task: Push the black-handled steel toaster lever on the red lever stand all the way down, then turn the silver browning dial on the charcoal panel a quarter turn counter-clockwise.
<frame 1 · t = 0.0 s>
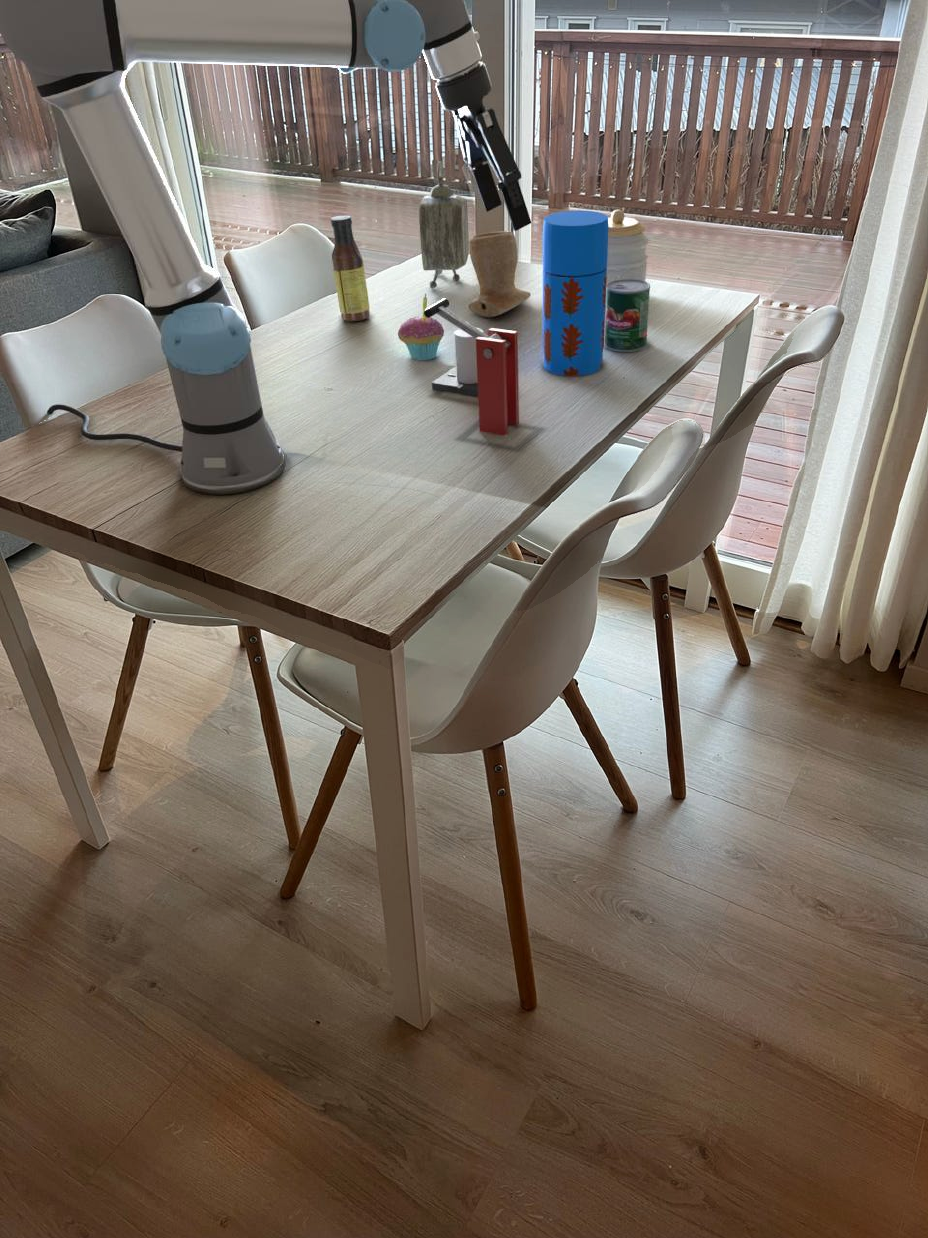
hand: (507, 216, 144), 28 cm above the table, tool tilted 20°, fingers open, 13 cm apart
canned tomato: (625, 345, 174), on the table
red lever stand: (499, 434, 145), on the table
jar: (614, 299, 197), on the table
cupcake: (423, 356, 175), on the table
tan piece: (495, 308, 196), on the table
toaster lever: (468, 328, 138), point 16 cm above the table, hinge at 25.0°
dial panel: (471, 392, 159), on the table
tabletop clock: (448, 282, 213), on the table
thermos: (572, 366, 167), on the table
sauce bottle: (355, 318, 195), on the table
browning dial: (470, 354, 155), point 7 cm above the table, hinge at 0.0°
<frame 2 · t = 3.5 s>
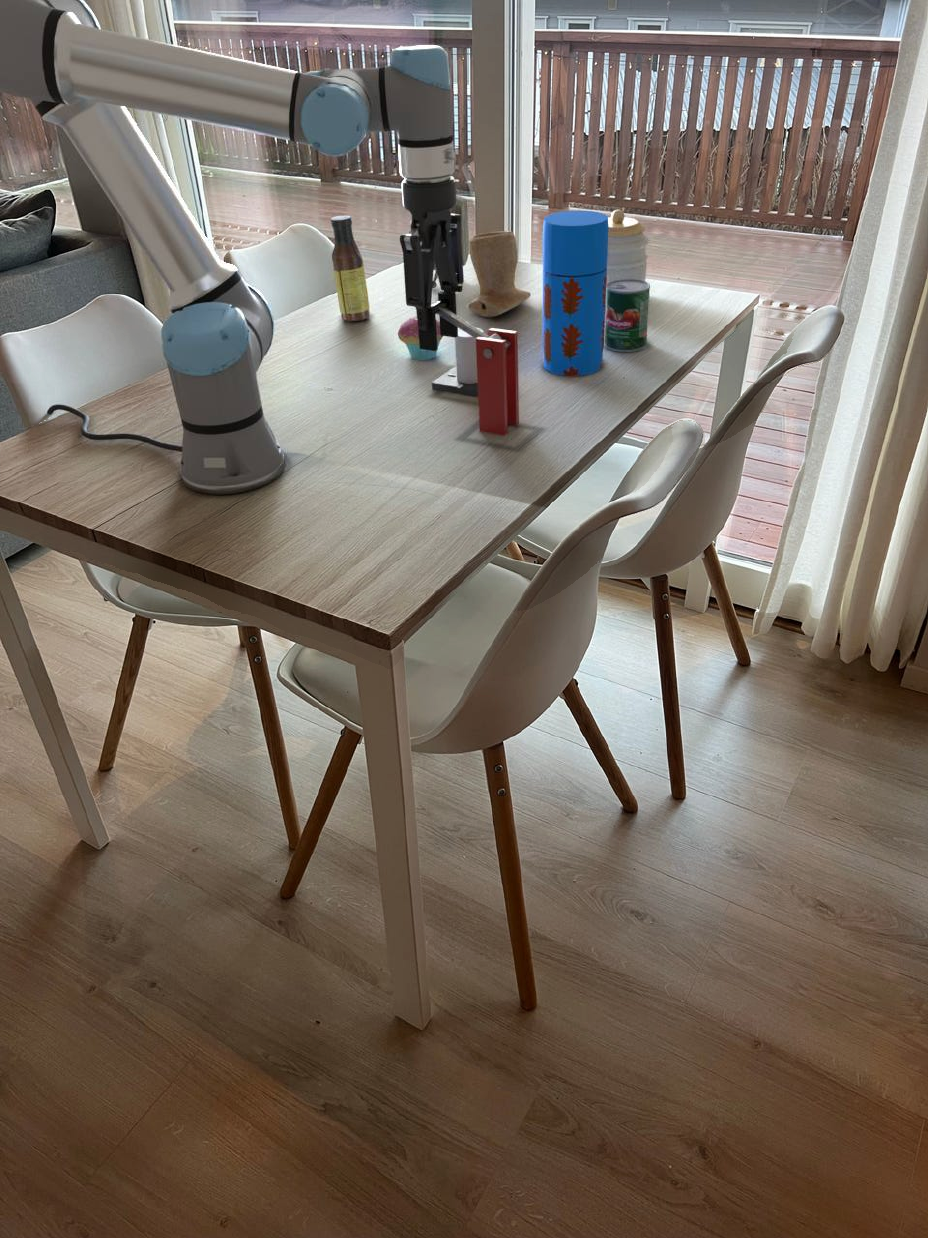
hand: (439, 341, 142), 13 cm above the table, tool pointing down, fingers closed on toaster lever, 5 cm apart
toaster lever: (468, 328, 138), point 16 cm above the table, hinge at 25.0°, touching gripper
everything else where it was.
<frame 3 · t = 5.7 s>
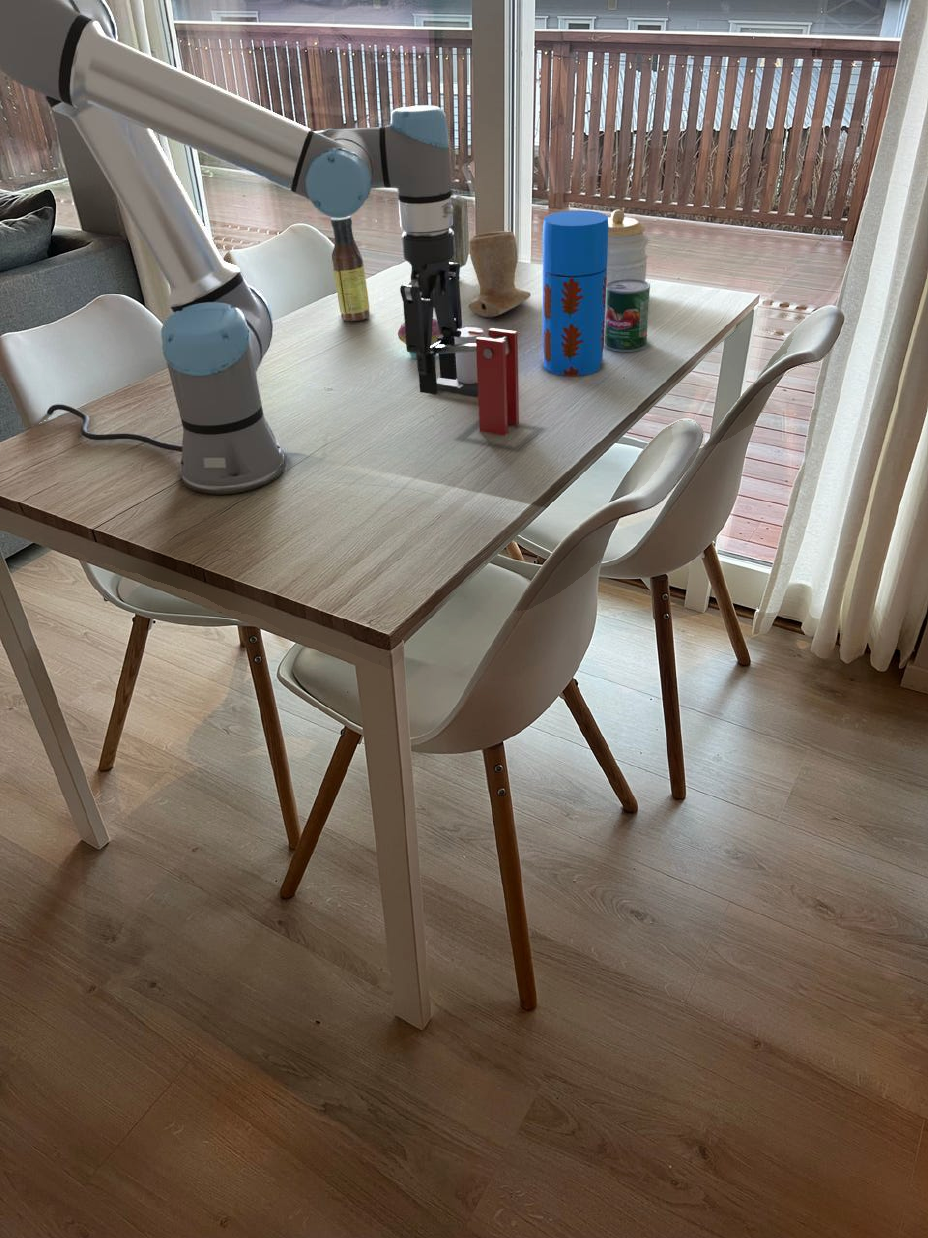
hand: (438, 384, 146), 7 cm above the table, tool pointing down, fingers closed on toaster lever, 5 cm apart
toaster lever: (467, 348, 140), point 13 cm above the table, hinge at -9.5°, touching gripper
everything else where it was.
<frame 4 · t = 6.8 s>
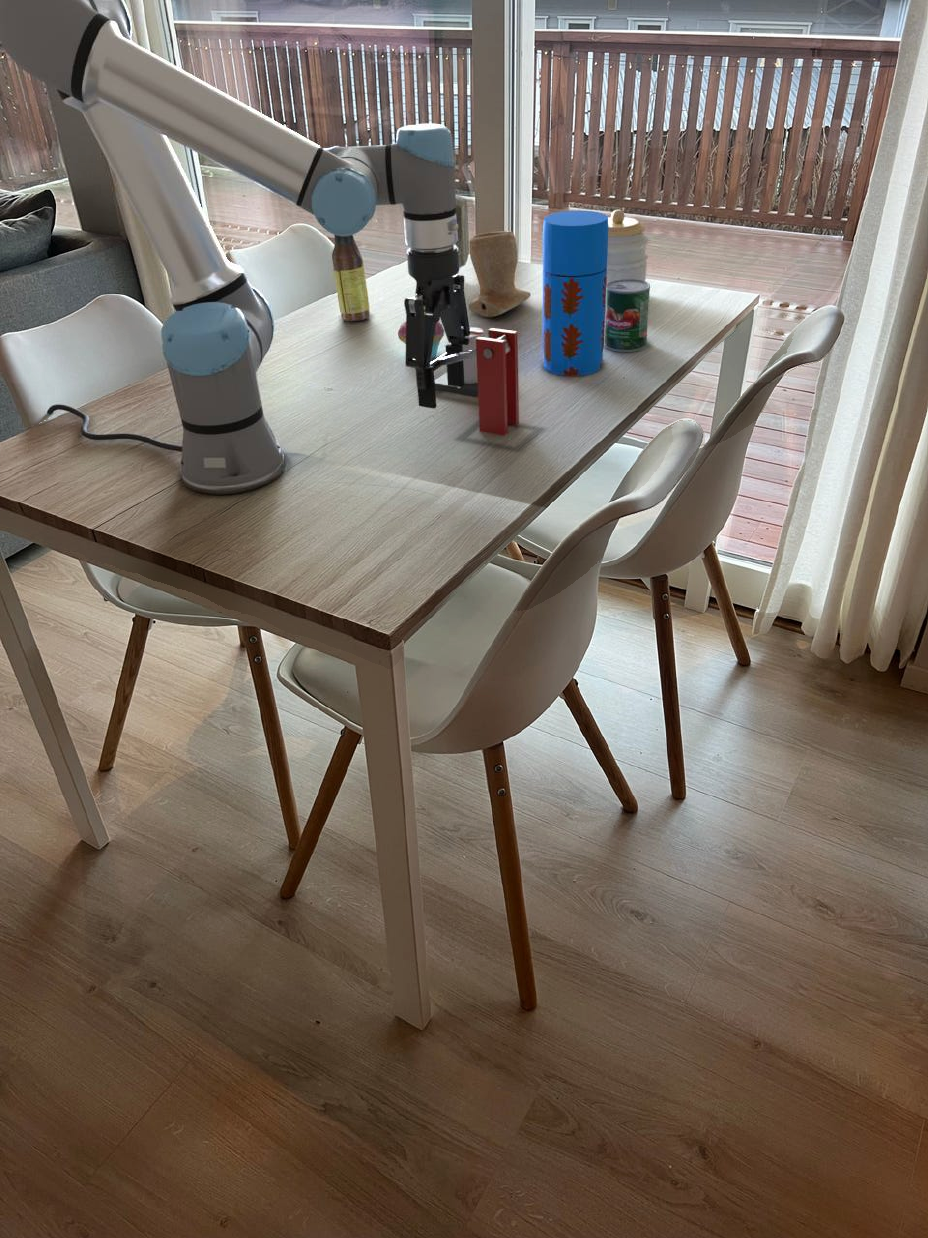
hand: (442, 395, 147), 5 cm above the table, tool pointing down, fingers open, 8 cm apart
toaster lever: (469, 354, 140), point 12 cm above the table, hinge at -20.3°
everything else where it was.
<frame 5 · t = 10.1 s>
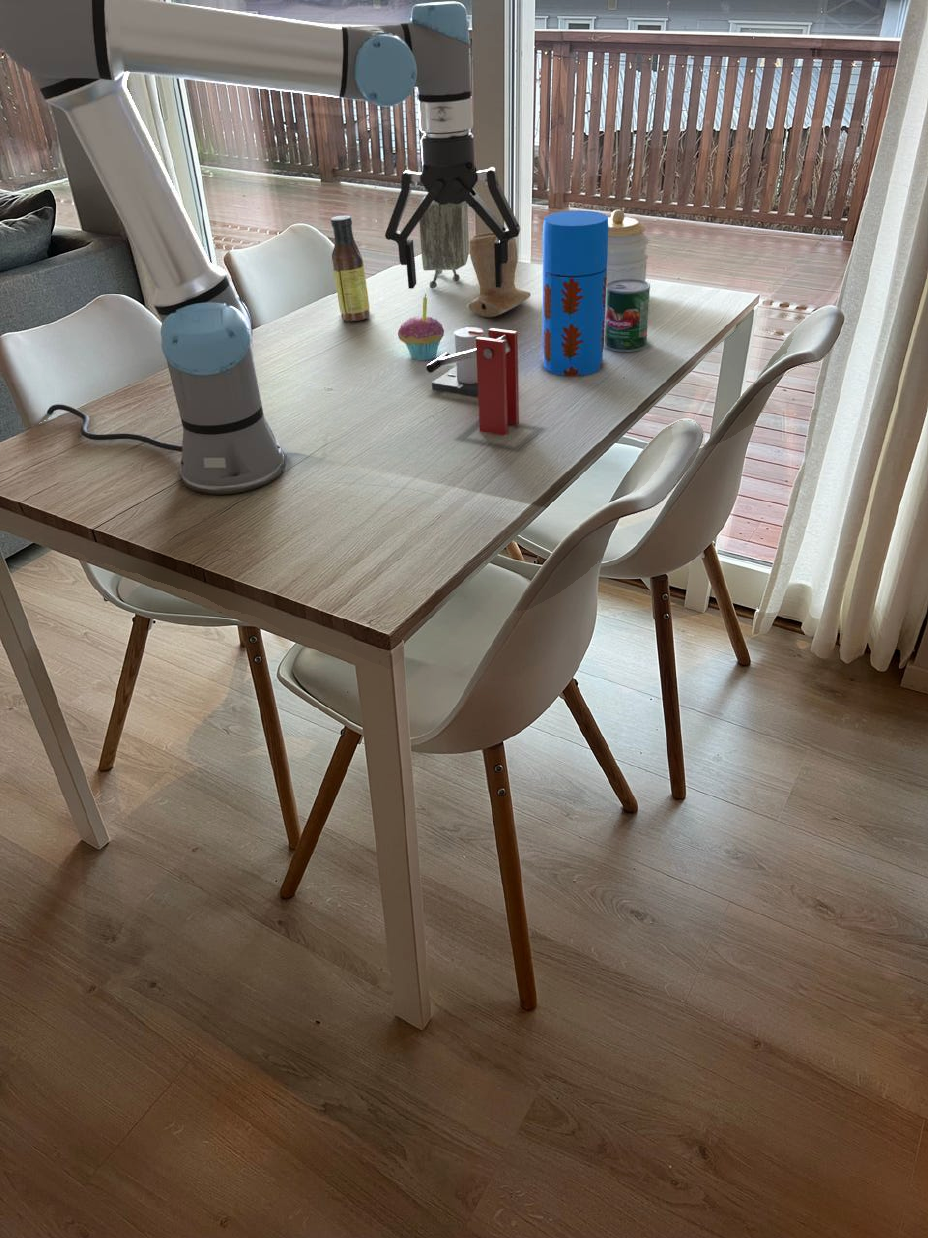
hand: (455, 285, 144), 20 cm above the table, tool pointing down, fingers open, 13 cm apart
nothing on the table moved.
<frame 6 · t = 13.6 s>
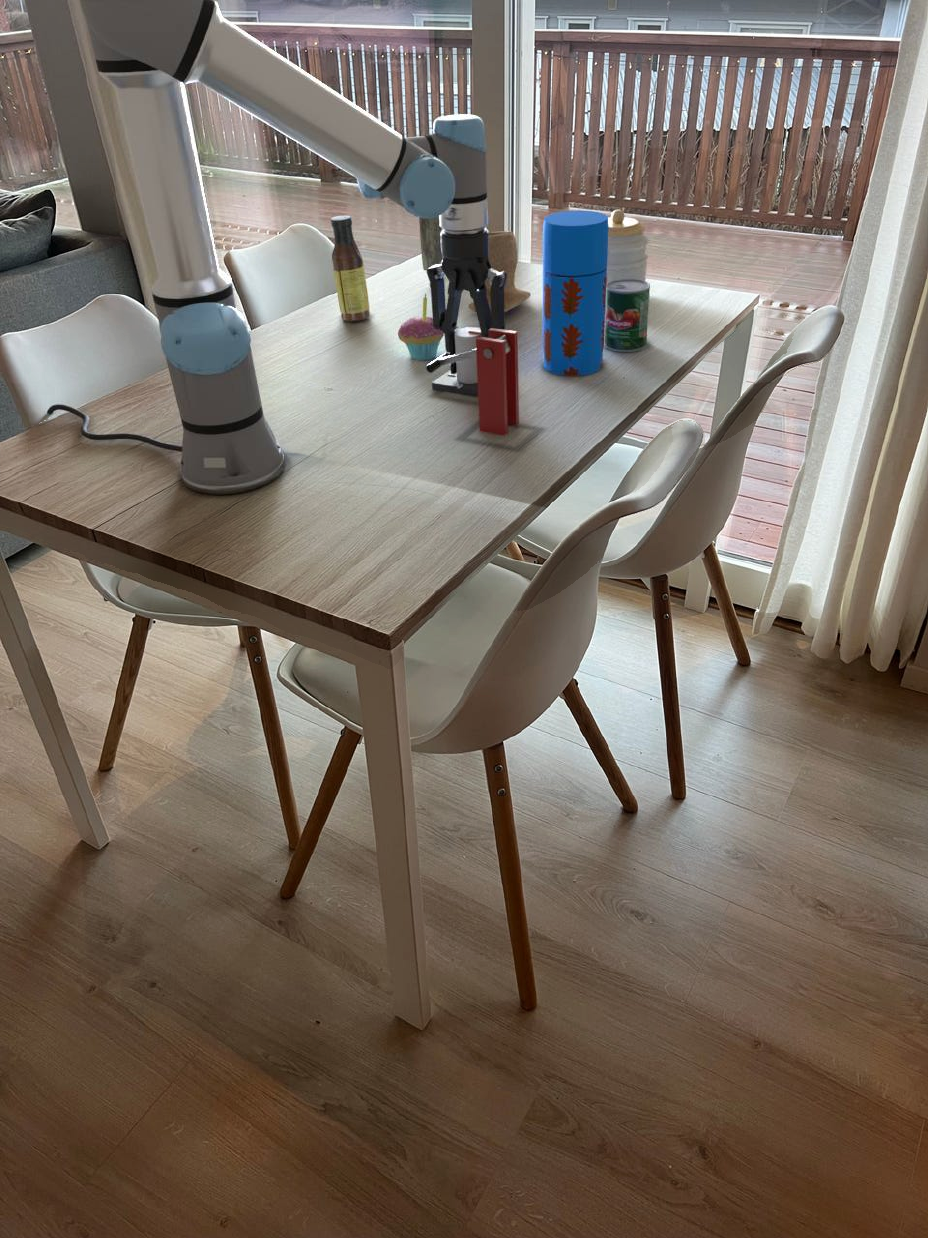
hand: (470, 372, 157), 4 cm above the table, tool pointing down, fingers closed on browning dial, 5 cm apart
browning dial: (470, 354, 155), point 7 cm above the table, hinge at 0.0°, touching gripper
everything else where it was.
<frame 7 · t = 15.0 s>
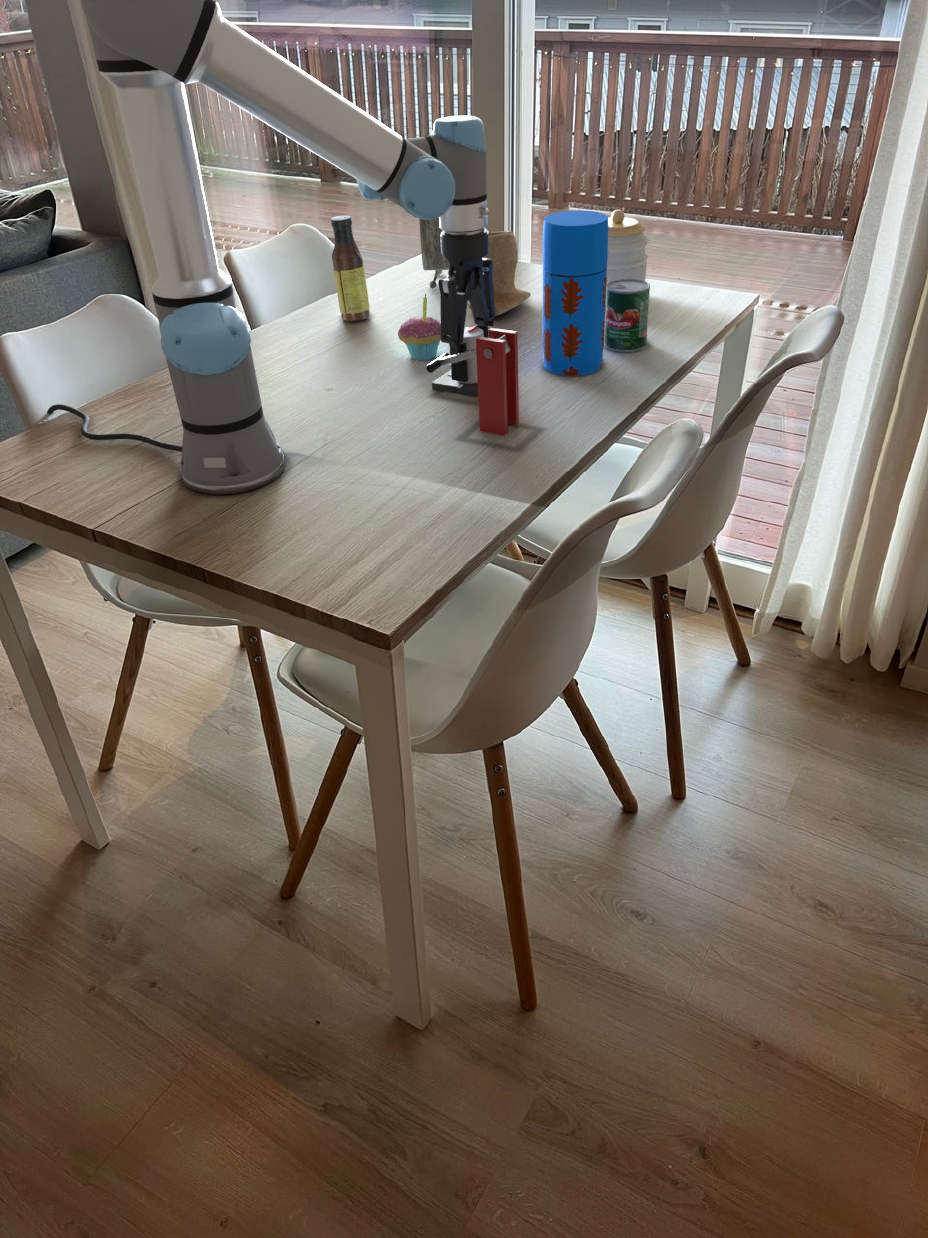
hand: (470, 372, 157), 4 cm above the table, tool pointing down, fingers open, 7 cm apart
browning dial: (470, 354, 155), point 7 cm above the table, hinge at 90.2°
everything else where it was.
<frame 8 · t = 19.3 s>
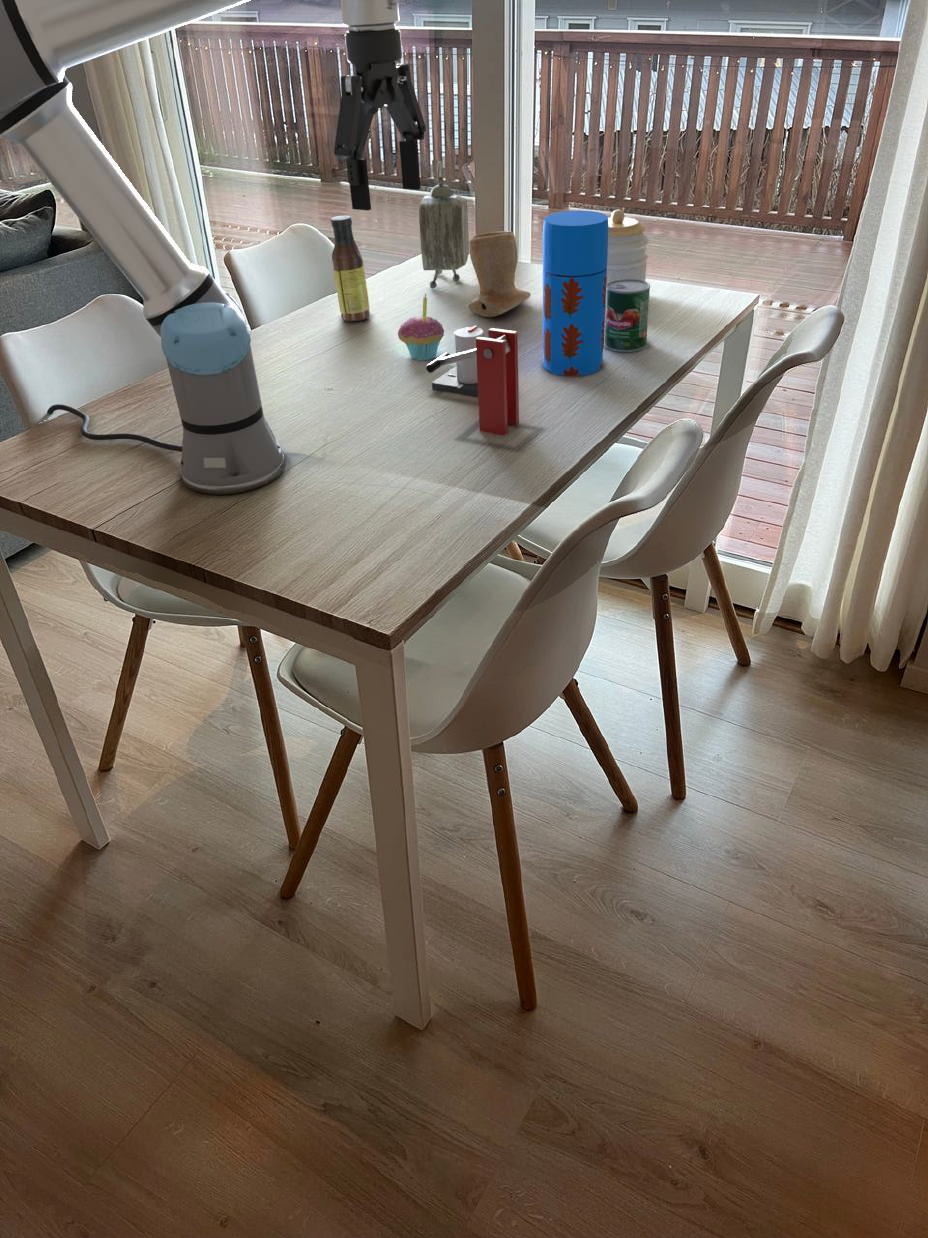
hand: (387, 198, 136), 33 cm above the table, tool pointing down, fingers open, 13 cm apart
nothing on the table moved.
at the end: toaster lever at -20° (first picture: +25°); browning dial at +90° (first picture: +0°) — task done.
